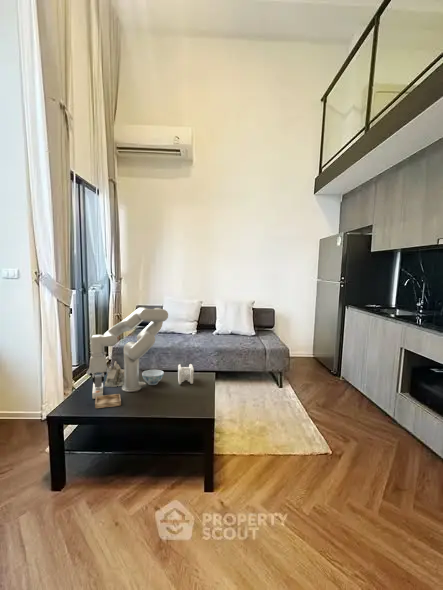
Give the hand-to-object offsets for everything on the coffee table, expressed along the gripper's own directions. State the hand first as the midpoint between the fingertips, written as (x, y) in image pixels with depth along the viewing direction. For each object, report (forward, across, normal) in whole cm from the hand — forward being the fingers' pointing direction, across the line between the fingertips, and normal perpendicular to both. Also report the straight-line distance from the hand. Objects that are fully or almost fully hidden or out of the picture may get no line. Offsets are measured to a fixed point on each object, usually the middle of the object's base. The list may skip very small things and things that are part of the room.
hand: (98, 382), depth 200 cm
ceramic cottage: (+8, -13, -16) cm, 22 cm away
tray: (+8, -6, +16) cm, 19 cm away
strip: (+8, 0, -3) cm, 8 cm away
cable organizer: (+9, -58, -7) cm, 60 cm away
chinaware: (+8, -36, -10) cm, 38 cm away
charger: (+4, 0, 0) cm, 4 cm away
